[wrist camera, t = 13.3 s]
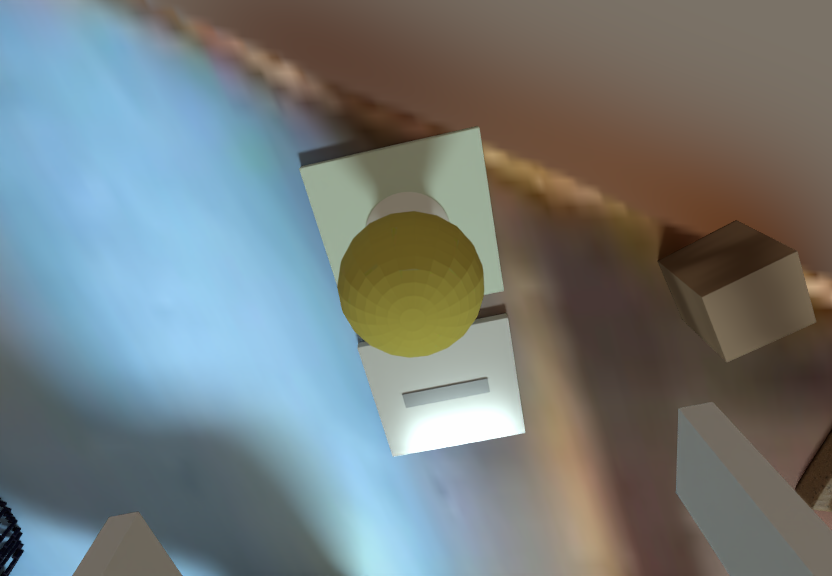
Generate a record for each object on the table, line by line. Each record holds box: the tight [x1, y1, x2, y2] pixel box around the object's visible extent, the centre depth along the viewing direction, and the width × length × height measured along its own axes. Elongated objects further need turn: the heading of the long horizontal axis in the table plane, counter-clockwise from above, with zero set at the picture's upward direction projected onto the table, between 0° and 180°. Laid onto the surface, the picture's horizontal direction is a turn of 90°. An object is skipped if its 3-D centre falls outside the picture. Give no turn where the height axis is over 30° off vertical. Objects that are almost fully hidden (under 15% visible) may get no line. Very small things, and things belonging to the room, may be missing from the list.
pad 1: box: [299, 126, 504, 295], centre depth 28 cm, size 10×10×1 cm
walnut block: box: [658, 220, 816, 362], centre depth 28 cm, size 5×5×5 cm
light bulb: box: [337, 211, 484, 358], centre depth 23 cm, size 7×7×10 cm
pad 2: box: [358, 313, 525, 457], centre depth 33 cm, size 10×10×1 cm
